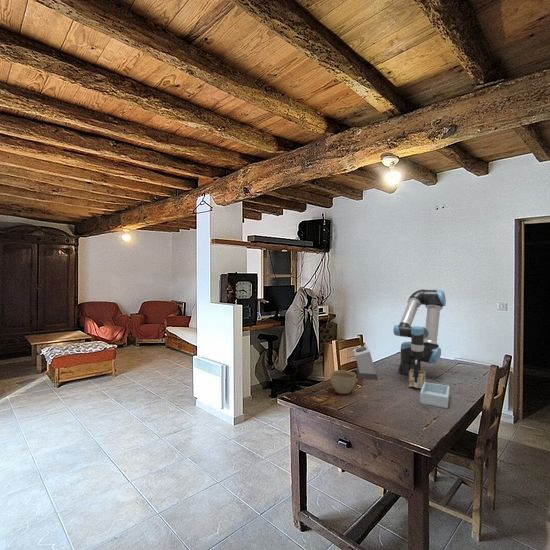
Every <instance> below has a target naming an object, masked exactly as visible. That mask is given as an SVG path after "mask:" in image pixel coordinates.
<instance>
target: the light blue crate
mask: <svg viewBox="0 0 550 550" xmlns="http://www.w3.org/2000/svg"><path fill="white" fill-rule="evenodd" d="M449 399H450V385H447V384H440V383H433V382H426V381H425V382H424V384H423V387H422V389H421V388H420V393H419V404H423V405H428V406H433V407H438V408H443V409H444V408H445V409H448V407H449Z"/></svg>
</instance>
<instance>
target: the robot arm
mask: <svg viewBox="0 0 550 550" xmlns="http://www.w3.org/2000/svg"><path fill="white" fill-rule="evenodd" d="M406 303H407V305H406V307H405V310H404V312H403V315H402V316H401V319H400V322H399V324H395V325H394V326H393V330H392V331H393V334H394V336H397V337H404V338H411V339H410V341H404V342H402V343H401V344H400V362H399V365H398V369H397V373H398V374H399V375H402V376H406V377H409V371H410V370H411V369H414V375H413V377H414V387H413V388H415V387H418V379H419V377H418V371H419V370H421V371H422V369H421V366H422V365H421V364H422V363H421V362H423V363H428V364H437V363H439V361H440V360H441V356H442V355H441V354H442V349H441V347H439V346H440V345H439V343H438V335H439V326H440V325H439V324H440V322H439V321H440V316H441V315H440V314H441V310H443V308H444V307H445V306H446V304H447V299H446V294H445V291H444V290H441V289H418V290H416V291H414V292H413V293H412V294H411V295H410V296H409V297H408V299H407V302H406ZM421 305H423V306H424V307H425V308H426V318H425V319H426V320H425V326H419V325H413V326H412V323H413V321H414V319H415V316H416V314H417V312H418V308H420V307H421Z"/></svg>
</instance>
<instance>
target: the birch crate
mask: <svg viewBox="0 0 550 550" xmlns="http://www.w3.org/2000/svg"><path fill="white" fill-rule="evenodd" d="M413 375H414V369H411V370H410V371H409V376H408V387H409V388H415V389H420V390H421V389H422V387H423V384H424V382H426V370H422V369H421V370H419V371H418V377H419V379H418V387H414V377H413Z"/></svg>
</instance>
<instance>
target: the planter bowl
mask: <svg viewBox="0 0 550 550" xmlns="http://www.w3.org/2000/svg"><path fill="white" fill-rule="evenodd" d="M329 378H330V382H331V383H330V384H332V386H333V388H334V390H335V392H336V393H338V394H344V395H347V394H350V393H351V392H352V390H353V388H354V386H355V384H356V378H357V373H355V372H353V371H348V370H333V371H331V372H330V373H329Z"/></svg>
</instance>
